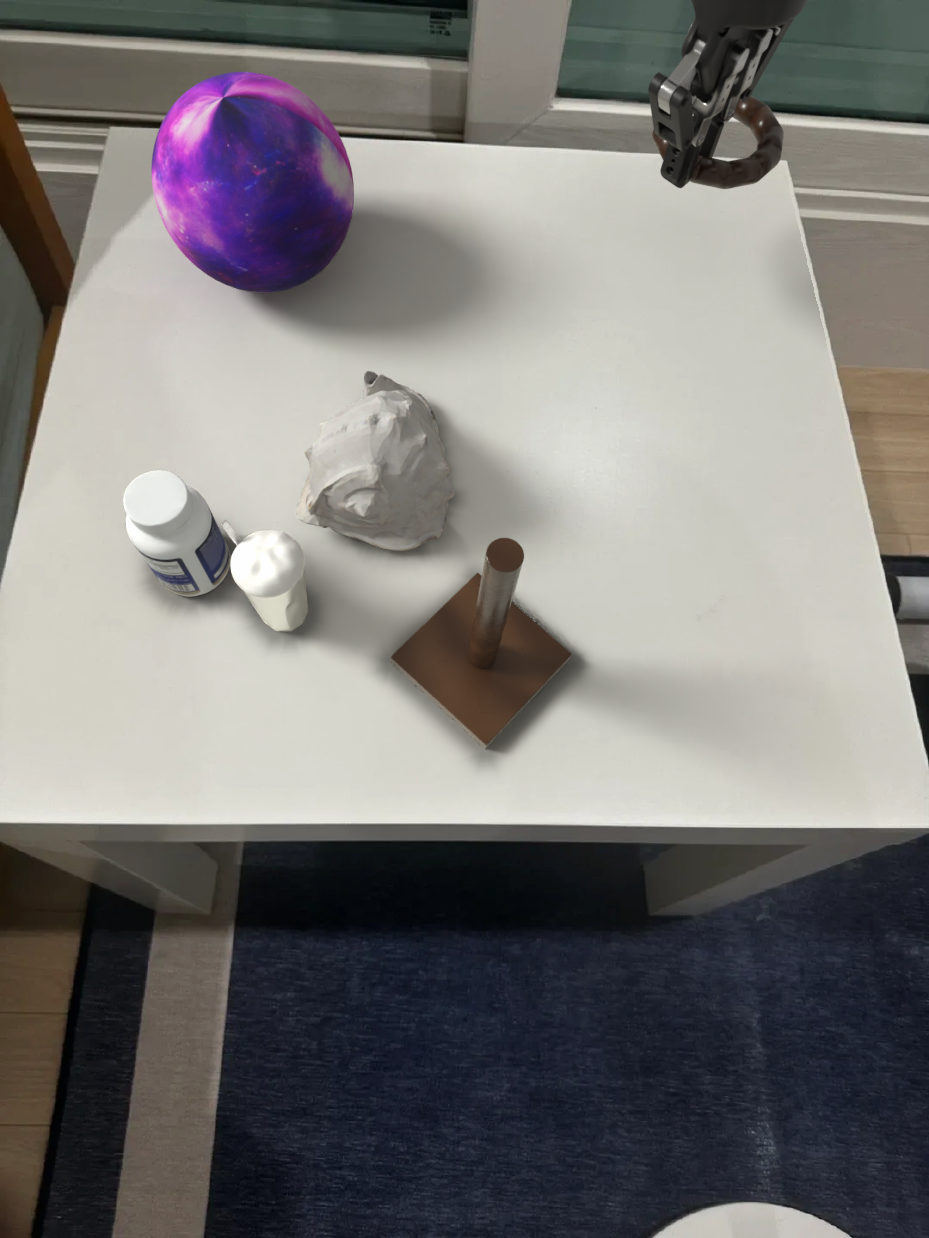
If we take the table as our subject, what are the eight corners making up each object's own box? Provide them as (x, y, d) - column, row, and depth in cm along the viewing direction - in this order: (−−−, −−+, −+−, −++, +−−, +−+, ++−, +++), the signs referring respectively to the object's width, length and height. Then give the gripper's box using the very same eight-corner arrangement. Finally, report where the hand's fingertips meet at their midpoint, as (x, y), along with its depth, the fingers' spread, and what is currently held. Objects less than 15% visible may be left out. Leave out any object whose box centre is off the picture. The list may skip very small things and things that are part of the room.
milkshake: (272, 564, 62) (247, 495, 53) (330, 605, 61) (315, 542, 52) (230, 610, 61) (197, 548, 51) (289, 653, 60) (266, 597, 50)
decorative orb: (181, 198, 74) (129, 23, 61) (354, 193, 76) (341, 22, 62) (178, 336, 69) (119, 180, 55) (364, 329, 70) (352, 174, 56)
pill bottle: (210, 518, 63) (176, 445, 54) (244, 575, 62) (215, 509, 53) (142, 553, 62) (96, 484, 53) (176, 611, 60) (134, 550, 51)
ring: (701, 84, 67) (708, 61, 65) (801, 148, 65) (811, 126, 63) (625, 144, 64) (630, 122, 62) (727, 214, 62) (736, 193, 60)
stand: (476, 578, 63) (498, 449, 47) (569, 659, 61) (625, 553, 45) (390, 662, 60) (382, 555, 44) (484, 749, 58) (512, 670, 42)
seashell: (422, 388, 69) (424, 299, 59) (473, 538, 64) (483, 467, 55) (272, 421, 67) (249, 334, 57) (312, 577, 62) (295, 511, 53)
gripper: (756, -9, 44) (666, 249, 60) (896, -117, 48) (777, 151, 64) (644, -76, 46) (585, 192, 62) (789, -175, 50) (699, 100, 66)
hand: (684, 170), depth 63 cm, fingers closed on ring, 2 cm apart
